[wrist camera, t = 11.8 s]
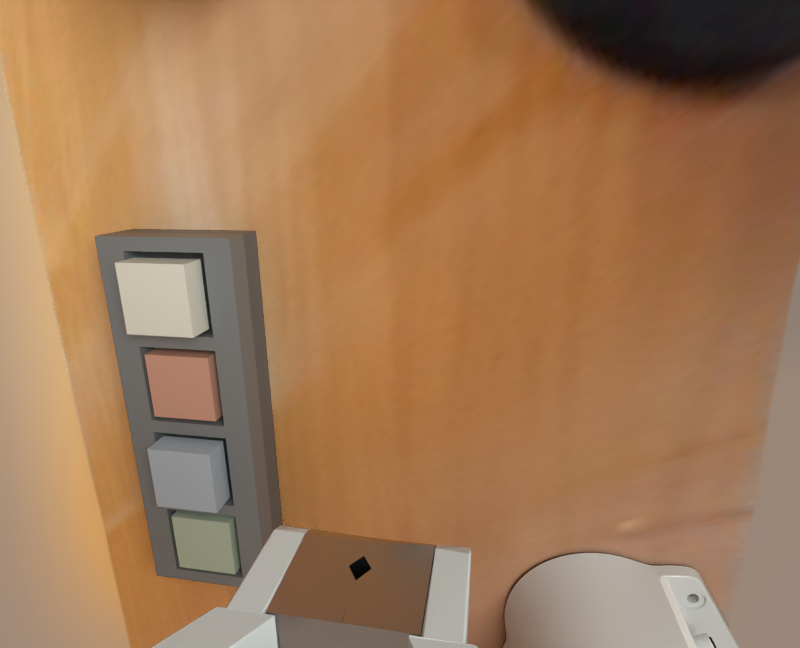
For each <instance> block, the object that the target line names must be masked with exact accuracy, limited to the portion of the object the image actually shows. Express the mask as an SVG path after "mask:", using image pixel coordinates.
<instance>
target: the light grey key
mask: <svg viewBox="0 0 800 648" xmlns="http://www.w3.org/2000/svg"><path fill="white" fill-rule="evenodd" d="M147 451H148V457H149V462H150V468H151V474H152V479H153V485H154V491H155V496H156V502H157V506H159V507H168V508H176V509H185V510H194V511H202V512H211V513H218V511H219V510H220V509H221V508H222V506H223V505H224V504H225V503H226V501H227V500H228V499H229V498H230V493H229V485H228V477H227V469H226V461H225V453H224V445H223V441H217V440H205V439H194V438H183V437H172V436H163V437H161V438H160V439H159V440H158V441H157V442H155V443H154V444H153V445H152V446H150V447H149V448H148V449H147Z"/></svg>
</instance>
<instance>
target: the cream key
mask: <svg viewBox="0 0 800 648" xmlns="http://www.w3.org/2000/svg"><path fill="white" fill-rule="evenodd" d="M115 268H116V274H117V279H118V285H119V291H120V297H121V302H122V308H123V314H124V319H125V325H126V331H127V334H131V335H149V336H168V337H187V338H194V337H196V336H198V335H199V334H201V333H203V332H204V331H206V330H208V329H209V325H208V317H207V309H206V301H205V293H204V285H203V277H202V268H201V260H200V259H177V258H137V257H134V258H130V259H127V260H123V261H119V262H115Z"/></svg>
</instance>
